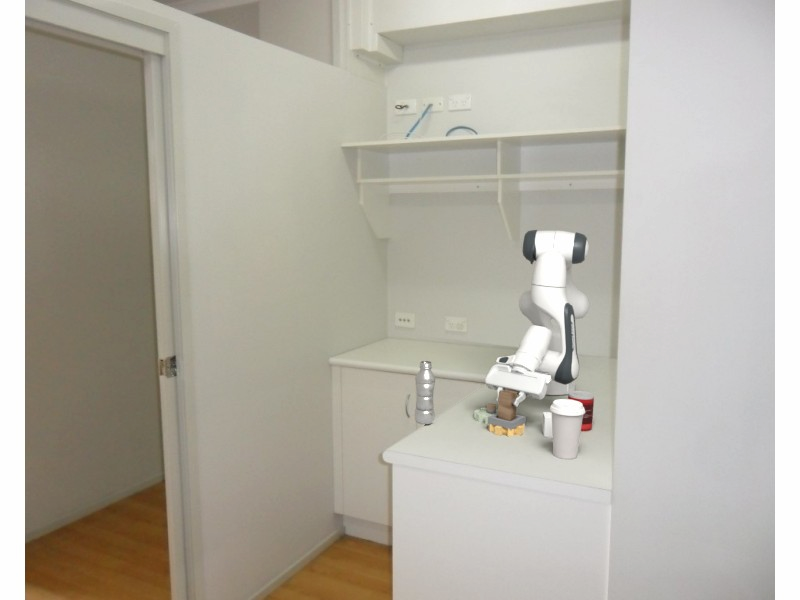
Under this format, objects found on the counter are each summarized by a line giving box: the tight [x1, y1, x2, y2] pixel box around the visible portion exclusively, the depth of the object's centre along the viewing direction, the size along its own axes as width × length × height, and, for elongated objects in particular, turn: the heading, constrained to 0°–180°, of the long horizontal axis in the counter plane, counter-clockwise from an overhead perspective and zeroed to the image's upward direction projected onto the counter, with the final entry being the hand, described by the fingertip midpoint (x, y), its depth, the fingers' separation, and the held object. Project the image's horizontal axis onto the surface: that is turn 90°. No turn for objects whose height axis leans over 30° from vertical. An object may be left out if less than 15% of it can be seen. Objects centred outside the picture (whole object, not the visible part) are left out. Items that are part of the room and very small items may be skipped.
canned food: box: [567, 390, 595, 432], centre depth 200 cm, size 8×8×11 cm
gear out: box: [487, 413, 527, 438], centre depth 197 cm, size 11×11×4 cm
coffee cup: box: [549, 398, 585, 460], centre depth 176 cm, size 10×10×15 cm
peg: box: [497, 390, 518, 421], centre depth 196 cm, size 4×4×8 cm
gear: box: [473, 402, 498, 425], centre depth 207 cm, size 11×11×5 cm
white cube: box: [541, 411, 553, 438], centre depth 194 cm, size 6×6×6 cm
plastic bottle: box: [414, 360, 436, 425], centre depth 201 cm, size 6×7×20 cm
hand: (506, 403), depth 195 cm, fingers closed on peg, 4 cm apart
